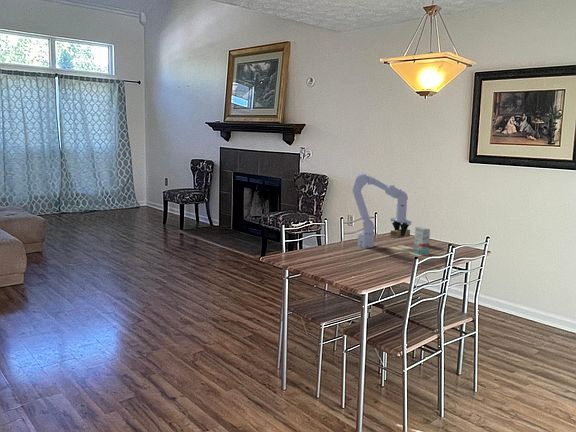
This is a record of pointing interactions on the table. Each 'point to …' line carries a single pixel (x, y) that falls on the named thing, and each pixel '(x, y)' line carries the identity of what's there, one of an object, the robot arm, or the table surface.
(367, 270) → the table surface
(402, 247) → the board
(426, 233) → the ink box
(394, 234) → the brown rectangular block
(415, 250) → the end cap
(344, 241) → the table surface
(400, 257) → the table surface
